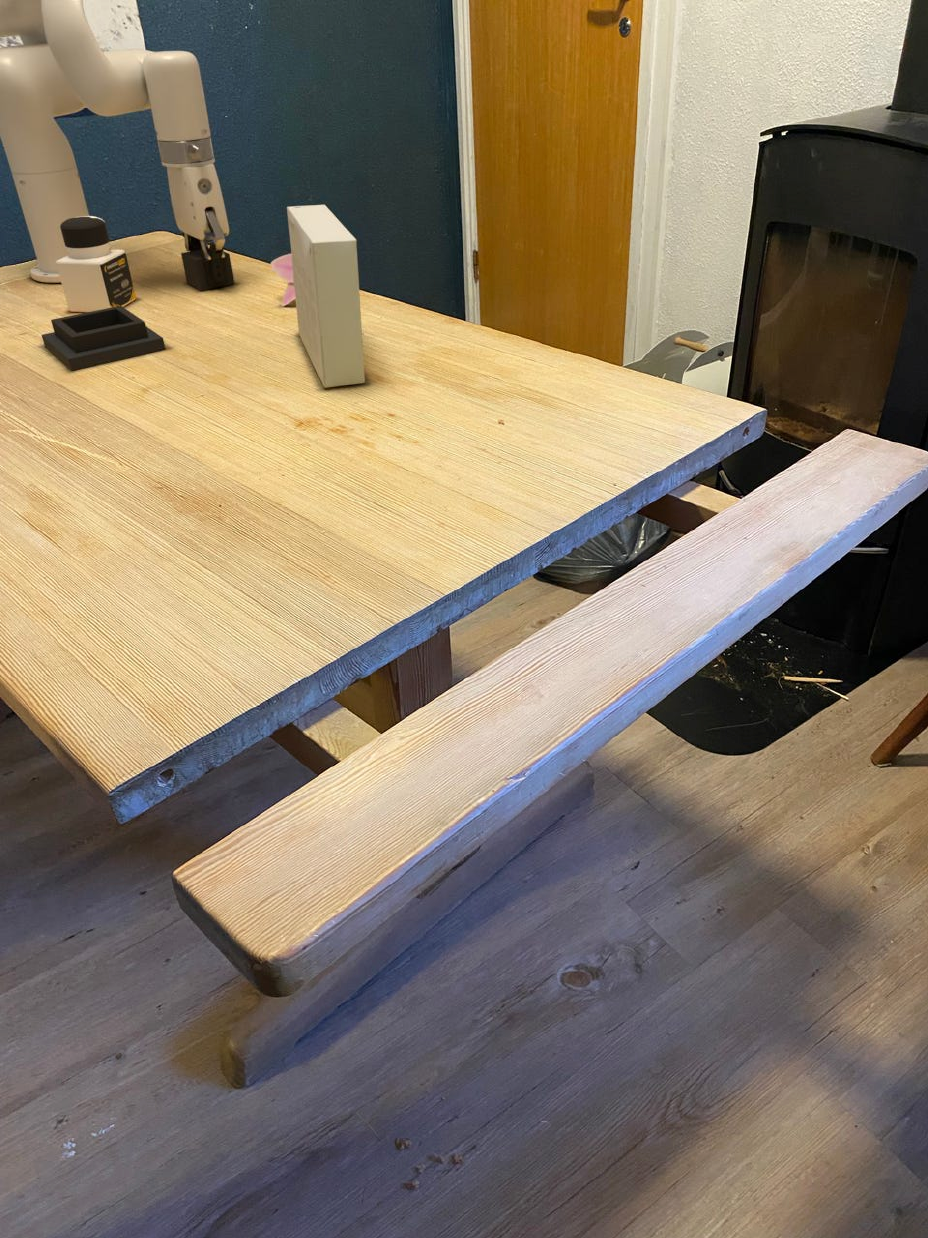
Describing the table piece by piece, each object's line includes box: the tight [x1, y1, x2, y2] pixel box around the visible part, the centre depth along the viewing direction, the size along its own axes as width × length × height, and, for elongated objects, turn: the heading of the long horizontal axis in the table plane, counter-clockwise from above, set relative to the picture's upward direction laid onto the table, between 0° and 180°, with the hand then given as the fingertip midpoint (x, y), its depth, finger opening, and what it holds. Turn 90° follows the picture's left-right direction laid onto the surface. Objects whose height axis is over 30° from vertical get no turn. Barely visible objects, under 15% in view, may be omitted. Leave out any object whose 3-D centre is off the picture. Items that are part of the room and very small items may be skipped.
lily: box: [269, 253, 296, 307], centre depth 129 cm, size 12×12×10 cm
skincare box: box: [286, 204, 366, 388], centre depth 107 cm, size 21×5×16 cm, turn 17°
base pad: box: [41, 306, 166, 372], centre depth 117 cm, size 12×12×4 cm
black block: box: [180, 249, 235, 292], centre depth 140 cm, size 6×6×4 cm
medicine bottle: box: [56, 215, 137, 313], centre depth 130 cm, size 7×7×12 cm
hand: (210, 279), depth 141 cm, fingers closed on black block, 5 cm apart
